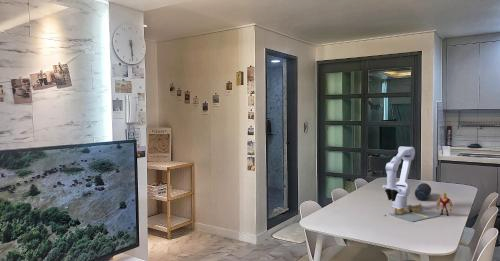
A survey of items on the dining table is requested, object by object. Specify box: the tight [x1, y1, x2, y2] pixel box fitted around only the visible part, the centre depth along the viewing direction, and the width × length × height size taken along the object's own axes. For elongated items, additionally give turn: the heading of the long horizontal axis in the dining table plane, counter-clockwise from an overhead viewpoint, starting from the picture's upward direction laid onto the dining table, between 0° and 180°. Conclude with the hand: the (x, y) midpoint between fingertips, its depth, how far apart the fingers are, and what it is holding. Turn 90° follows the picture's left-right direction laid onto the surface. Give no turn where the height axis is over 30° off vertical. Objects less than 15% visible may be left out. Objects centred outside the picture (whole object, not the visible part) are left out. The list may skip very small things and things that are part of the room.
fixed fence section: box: [412, 203, 422, 212], centre depth 244 cm, size 1×9×4 cm, turn 115°
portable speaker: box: [414, 182, 432, 201], centre depth 281 cm, size 25×10×10 cm, turn 148°
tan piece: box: [393, 206, 409, 215], centre depth 238 cm, size 13×1×4 cm, turn 115°
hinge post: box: [407, 204, 413, 213], centre depth 241 cm, size 2×2×4 cm
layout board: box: [388, 209, 442, 223], centre depth 236 cm, size 19×26×1 cm
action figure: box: [436, 192, 453, 217], centre depth 235 cm, size 9×4×15 cm, turn 53°
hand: (391, 200), depth 242 cm, fingers open, 2 cm apart
